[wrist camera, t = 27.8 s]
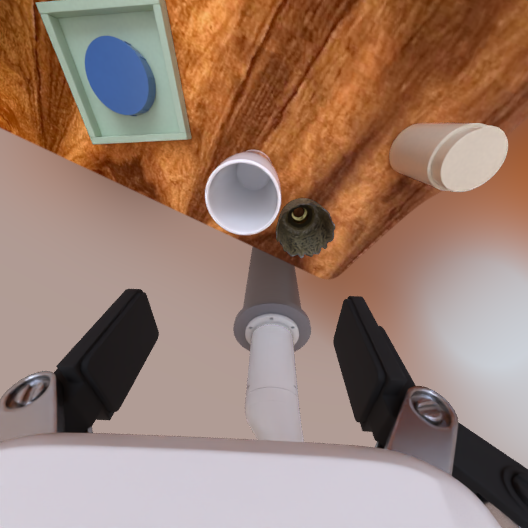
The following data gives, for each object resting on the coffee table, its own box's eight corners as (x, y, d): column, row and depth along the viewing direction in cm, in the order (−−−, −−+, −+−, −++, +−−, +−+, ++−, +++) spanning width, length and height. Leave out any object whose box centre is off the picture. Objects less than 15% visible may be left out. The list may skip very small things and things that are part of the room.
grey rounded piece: (266, 202, 34) (265, 221, 28) (311, 178, 32) (322, 193, 26) (287, 240, 38) (291, 266, 31) (329, 221, 36) (342, 244, 29)
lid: (90, 32, 24) (77, 26, 23) (154, 50, 25) (146, 45, 23) (101, 107, 28) (91, 106, 26) (157, 121, 29) (150, 121, 27)
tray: (191, 138, 30) (187, 139, 28) (101, 143, 31) (92, 144, 29) (165, 0, 23) (157, -9, 22) (50, 10, 24) (34, 2, 22)
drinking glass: (221, 170, 32) (188, 202, 19) (252, 130, 29) (237, 137, 17) (255, 203, 34) (246, 249, 22) (287, 168, 32) (298, 199, 19)
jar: (429, 173, 31) (491, 193, 23) (384, 175, 32) (427, 196, 23) (446, 121, 28) (527, 121, 19) (395, 124, 28) (452, 125, 20)
